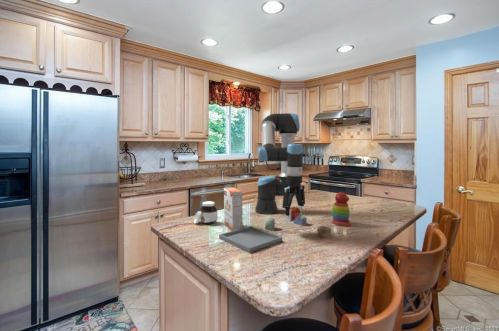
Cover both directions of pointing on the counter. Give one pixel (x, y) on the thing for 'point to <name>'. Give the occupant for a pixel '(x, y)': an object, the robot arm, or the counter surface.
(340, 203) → the stacking bear
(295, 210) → the pomegranate
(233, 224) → the cracker box
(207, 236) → the counter surface
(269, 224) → the sage block
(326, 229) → the walnut block
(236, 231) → the tray
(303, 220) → the lavender blue block
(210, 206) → the spread jar
